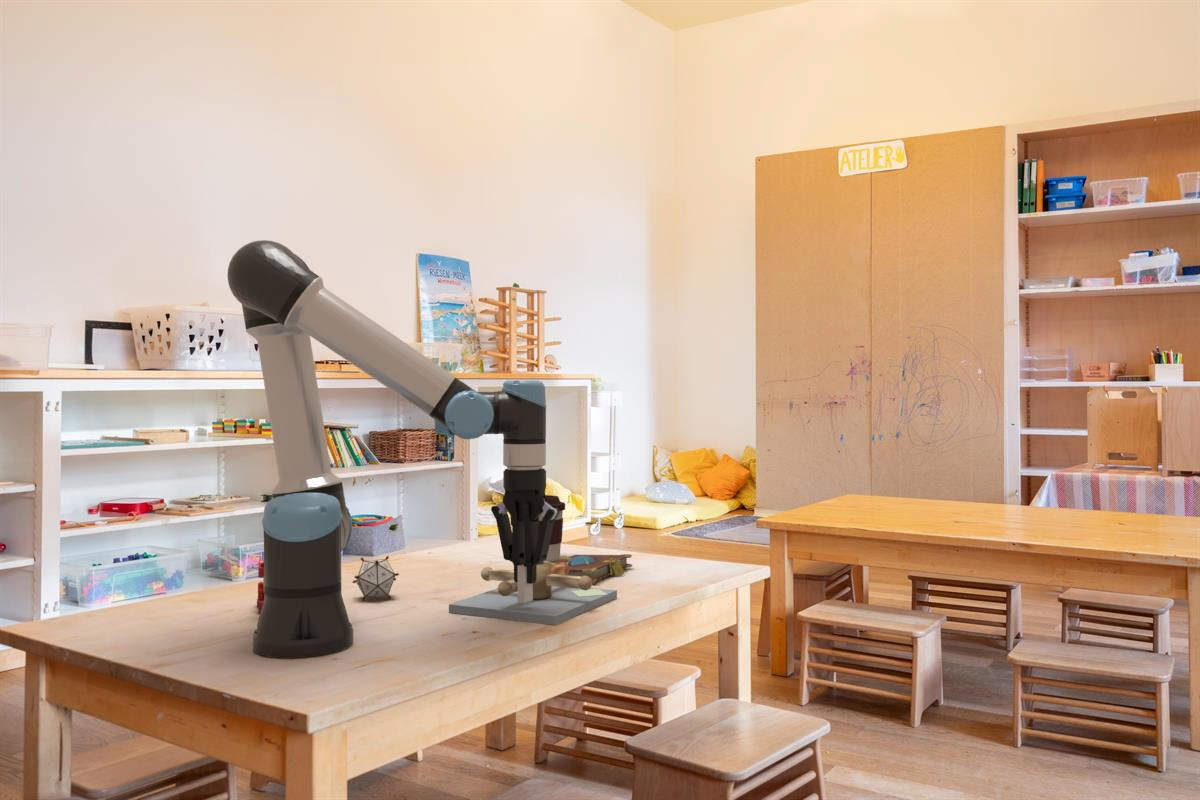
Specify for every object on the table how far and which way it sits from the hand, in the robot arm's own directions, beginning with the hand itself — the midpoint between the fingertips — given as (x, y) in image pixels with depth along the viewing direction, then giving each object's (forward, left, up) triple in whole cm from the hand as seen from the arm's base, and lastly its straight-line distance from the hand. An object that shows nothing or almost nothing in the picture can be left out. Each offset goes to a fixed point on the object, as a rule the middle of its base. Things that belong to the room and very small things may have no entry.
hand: (525, 601), depth 174 cm
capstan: (+9, +3, -1) cm, 10 cm away
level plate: (+9, +3, -3) cm, 10 cm away
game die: (+1, +34, -3) cm, 34 cm away
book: (+38, +9, -4) cm, 39 cm away
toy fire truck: (-16, +45, -3) cm, 48 cm away
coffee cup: (+52, +26, -3) cm, 58 cm away
